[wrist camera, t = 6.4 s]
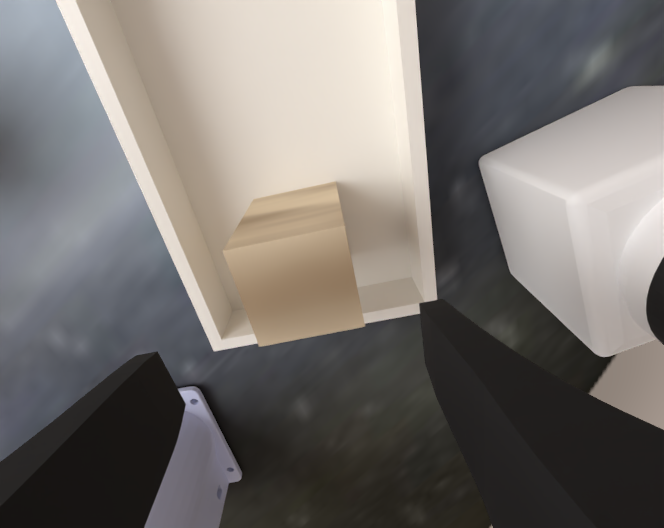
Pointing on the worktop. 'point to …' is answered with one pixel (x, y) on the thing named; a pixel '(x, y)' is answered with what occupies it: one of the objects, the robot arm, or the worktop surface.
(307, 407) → the worktop surface
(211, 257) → the serving tray
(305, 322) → the maple block
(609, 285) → the medicine bottle
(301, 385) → the worktop surface
